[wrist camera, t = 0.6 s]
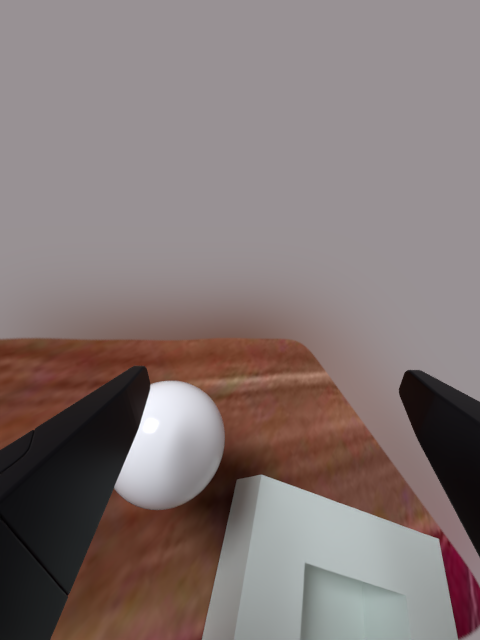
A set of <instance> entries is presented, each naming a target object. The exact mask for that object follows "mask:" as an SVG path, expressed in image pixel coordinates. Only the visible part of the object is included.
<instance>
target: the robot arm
mask: <svg viewBox="0 0 480 640" xmlns="http://www.w3.org/2000/svg"><path fill="white" fill-rule="evenodd" d="M149 392H150V380H149V376H148V372H147V368H146V367H145V366H133V367H131V368H130V369H128V370H127V371H125V372H123V373H122V374H120V375H119V376H117V377H116V378H114V379H112V380H111V381H109V382H108V383H106V384H105V385H103V386H101V387H100V388H98V389H97V390H95V391H94V392H92V393H90V394H89V395H87V396H86V397H84V398H82V399H81V400H79V401H78V402H76V403H75V404H73V405H71V406H70V407H68V408H67V409H65V410H64V411H62V412H60V413H59V414H57V415H56V416H54V417H52V418H51V419H49V420H48V421H46V422H45V423H43V424H41V425H40V426H38V427H37V428H35V430H32V431H30V432H29V433H27V434H26V435H24V436H22V437H21V438H19V439H18V440H16V441H14V442H13V443H11V444H9V445H8V446H6V447H5V448H3V449H1V450H0V640H50V639H51V636H52V634H53V632H54V629H55V627H56V625H57V622H58V620H59V617H60V615H61V613H62V610H63V608H64V606H65V603H66V601H67V598H68V596H67V595H69V593H70V591H71V588H72V586H73V584H74V581H75V579H76V576H77V574H78V572H79V569H80V567H81V565H82V562H83V560H84V557H85V555H86V553H87V550H88V548H89V546H90V543H91V541H92V538H93V536H94V534H95V531H96V529H97V527H98V524H99V522H100V519H101V517H102V515H103V512H104V510H105V508H106V505H107V503H108V500H109V498H110V496H111V493H112V491H113V489H114V486H115V484H116V481H117V479H118V477H119V474H120V472H121V470H122V467H123V465H124V462H125V460H126V458H127V455H128V453H129V451H130V448H131V446H132V443H133V441H134V439H135V436H136V434H137V431H138V429H139V426H140V422H141V419H142V416H143V412H144V409H145V406H146V402H147V399H148V395H149ZM399 394H400V397H401V400H402V402H403V405H404V407H405V410H406V412H407V415H408V417H409V420H410V422H411V425H412V427H413V430H414V432H415V434H416V437H417V439H418V441H419V443H420V445H421V447H422V449H423V450H424V452H425V454H426V456H427V458H428V460H429V462H430V464H431V466H432V467H433V470H434V471H435V473H436V475H437V477H438V479H439V481H440V483H441V485H442V487H443V489H444V490H445V492H446V494H447V496H448V498H449V500H450V502H451V504H452V505H453V508H454V509H455V511H456V513H457V515H458V517H459V519H460V521H461V523H462V525H463V527H464V528H465V530H466V532H467V534H468V536H469V538H470V540H471V542H472V544H473V546H474V547H475V549H476V551H477V553H478V555H479V557H480V402H479V401H477V400H475V399H473V398H471V397H469V396H468V395H466V394H464V393H462V392H460V391H458V390H456V389H454V388H453V387H451V386H449V385H447V384H445V383H443V382H441V381H439V380H438V379H436V378H434V377H432V376H430V375H428V374H426V373H425V372H423V371H420V370H407V371H406V372H405V373H404V376H403V379H402V382H401V385H400V388H399Z"/></svg>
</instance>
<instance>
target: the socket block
mask: <svg viewBox="0 0 480 640" xmlns="http://www.w3.org/2000/svg"><path fill="white" fill-rule="evenodd" d="M202 640H458V637H457V632H456V627H455V621H454V616H453V611H452V606H451V600H450V595H449V590H448V585H447V580H446V574H445V569H444V564H443V559H442V554H441V548H440V543H439V539H437V538H434V537H431V536H429V535H426V534H423V533H420V532H418V531H415V530H412V529H409V528H407V527H404V526H401V525H398V524H396V523H393V522H390V521H388V520H385V519H382V518H379V517H377V516H374V515H371V514H368V513H366V512H363V511H360V510H357V509H355V508H352V507H349V506H346V505H344V504H341V503H338V502H335V501H333V500H330V499H327V498H324V497H322V496H319V495H316V494H313V493H311V492H308V491H305V490H302V489H300V488H297V487H294V486H291V485H289V484H286V483H283V482H280V481H278V480H275V479H272V478H269V477H267V476H264V475H257V476H252V477H247V478H242V479H237V482H236V486H235V491H234V495H233V500H232V504H231V509H230V514H229V518H228V523H227V527H226V532H225V536H224V541H223V546H222V550H221V555H220V559H219V564H218V568H217V573H216V577H215V582H214V587H213V591H212V596H211V600H210V605H209V609H208V614H207V618H206V623H205V628H204V632H203V637H202Z"/></svg>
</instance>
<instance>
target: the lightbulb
mask: <svg viewBox="0 0 480 640" xmlns="http://www.w3.org/2000/svg"><path fill="white" fill-rule="evenodd" d="M224 445H225V431H224V424H223V420H222V417H221V414H220V412H219V410H218V408H217V406H216V405H215V403H214V402H213V400H212V399H211V398H210V397H209V396H208V395H207V394H206V393H205V392H203V391H202V390H201V389H199V388H197V387H196V386H193V385H191V384H189V383H185V382H180V381H162V382H157V383H153V384H150V392H149V395H148V399H147V402H146V406H145V409H144V412H143V416H142V419H141V422H140V426H139V429H138V431H137V434H136V436H135V439H134V441H133V443H132V446H131V448H130V451H129V453H128V455H127V458H126V460H125V462H124V465H123V467H122V470H121V472H120V474H119V477H118V479H117V481H116V484H115V486H114V489H115V490H116V491H117V493H118V494H119V495H120V496H121V497H123V498H124V499H125V500H126V501H128V502H129V503H131V504H133V505H135V506H138V507H140V508H144V509H149V510H165V509H170V508H174V507H177V506H180V505H182V504H184V503H186V502H188V501H190V500H191V499H193V498H194V497H196V496H197V495H198V494H199V493H200V492H201V491H202V490H203V489H204V488H205V487H206V486H207V485H208V484H209V482H210V481H211V480H212V478H213V477H214V475H215V473H216V471H217V469H218V467H219V465H220V462H221V459H222V456H223V451H224Z"/></svg>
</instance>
